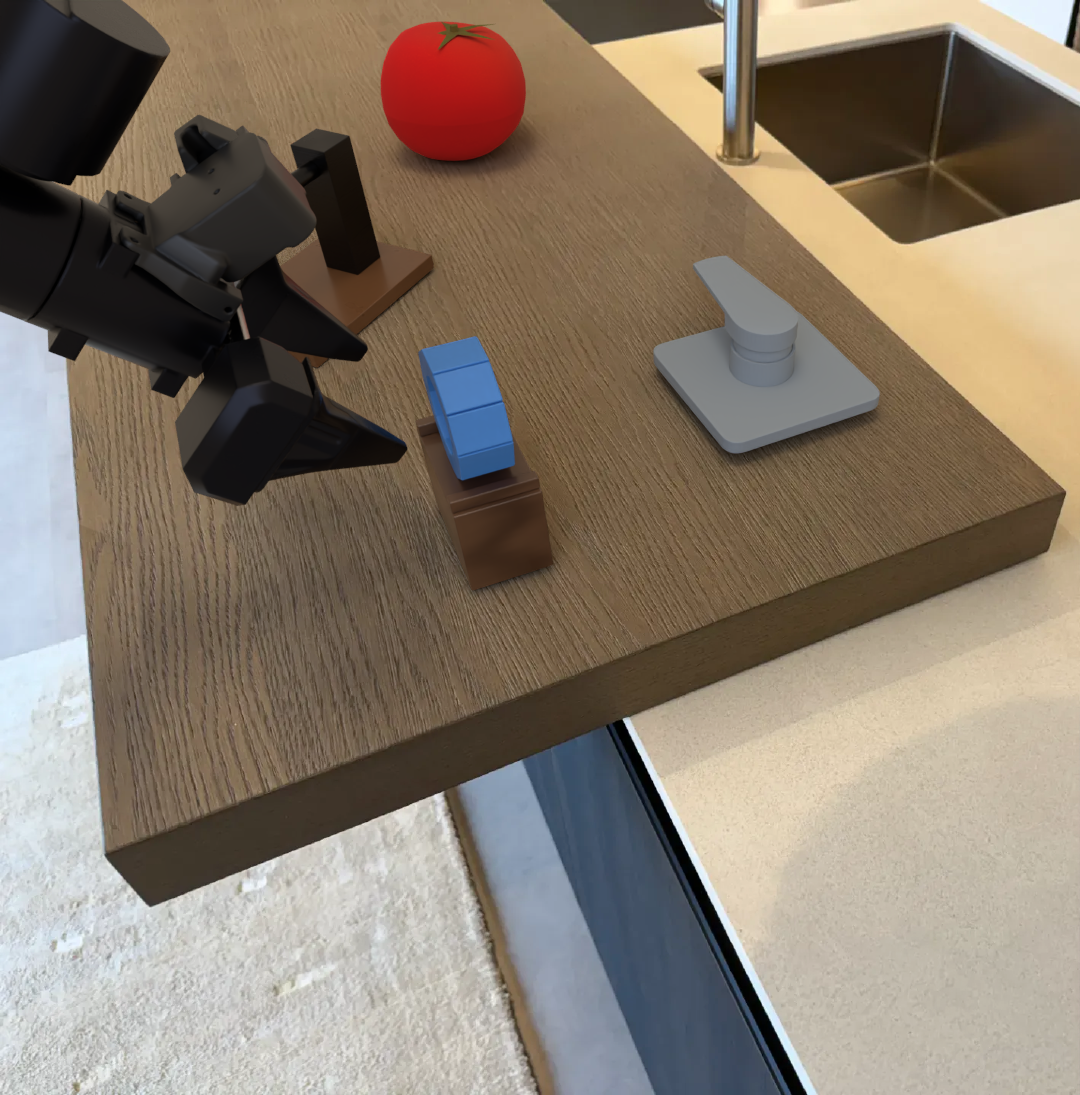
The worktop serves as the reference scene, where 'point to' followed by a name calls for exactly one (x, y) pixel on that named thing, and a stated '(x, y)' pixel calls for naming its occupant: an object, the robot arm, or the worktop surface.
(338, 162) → the hook stand
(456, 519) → the tape cradle
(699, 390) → the shower valve
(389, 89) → the tomato
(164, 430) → the worktop surface
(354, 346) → the robot arm
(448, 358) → the tape roll
